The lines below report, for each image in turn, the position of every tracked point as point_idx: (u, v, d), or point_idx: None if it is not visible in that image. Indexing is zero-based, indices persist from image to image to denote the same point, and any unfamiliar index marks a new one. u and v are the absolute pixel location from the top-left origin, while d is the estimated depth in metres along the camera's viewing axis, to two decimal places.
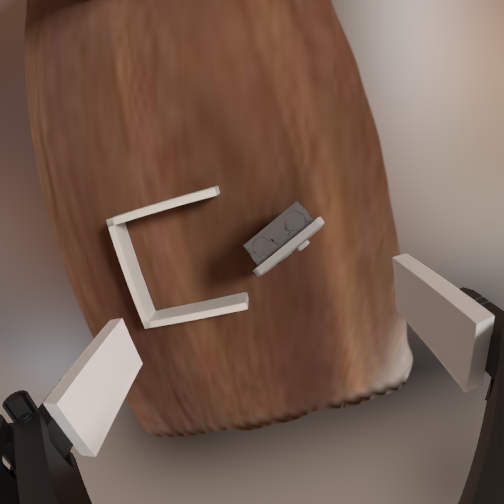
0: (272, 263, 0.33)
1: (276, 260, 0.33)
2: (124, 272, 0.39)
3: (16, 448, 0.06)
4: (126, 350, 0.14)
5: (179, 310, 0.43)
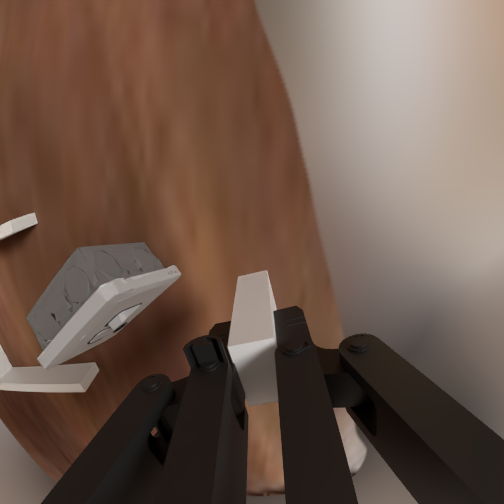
0: (52, 356, 0.15)
1: (56, 352, 0.15)
2: None
3: (184, 400, 0.08)
4: None
5: (26, 374, 0.25)
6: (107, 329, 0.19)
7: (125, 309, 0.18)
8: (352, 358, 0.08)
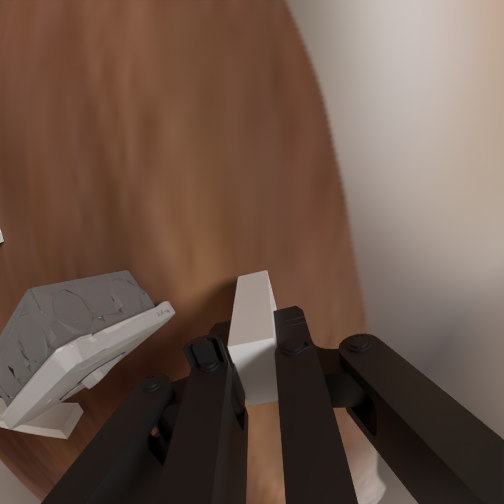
0: (15, 419, 0.10)
1: (18, 416, 0.10)
2: None
3: (184, 400, 0.08)
4: None
5: (5, 408, 0.20)
6: (82, 384, 0.14)
7: (101, 365, 0.13)
8: (352, 358, 0.08)
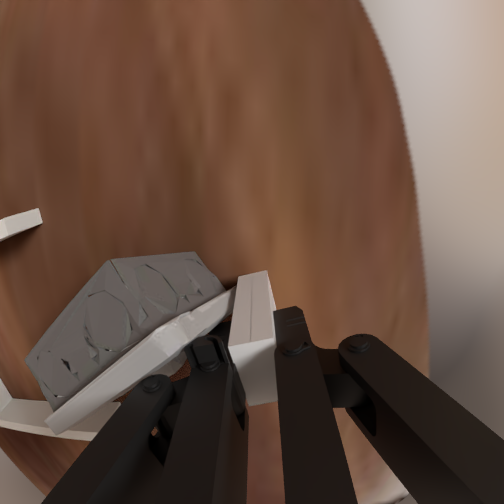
0: (68, 422, 0.09)
1: (74, 419, 0.09)
2: None
3: (184, 400, 0.08)
4: None
5: (30, 411, 0.19)
6: None
7: (179, 353, 0.12)
8: (352, 358, 0.08)
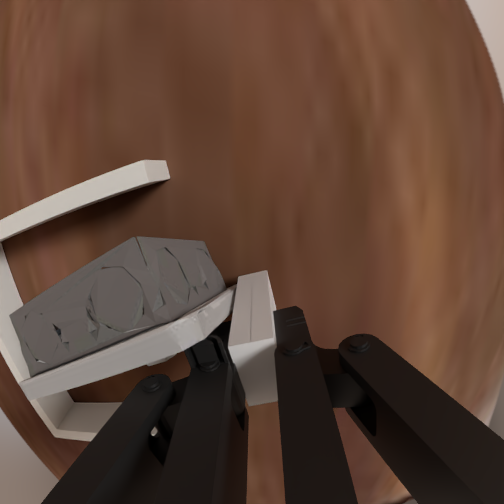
0: (47, 391, 0.09)
1: (55, 390, 0.09)
2: None
3: (184, 400, 0.08)
4: None
5: (108, 416, 0.19)
6: None
7: None
8: (352, 358, 0.08)
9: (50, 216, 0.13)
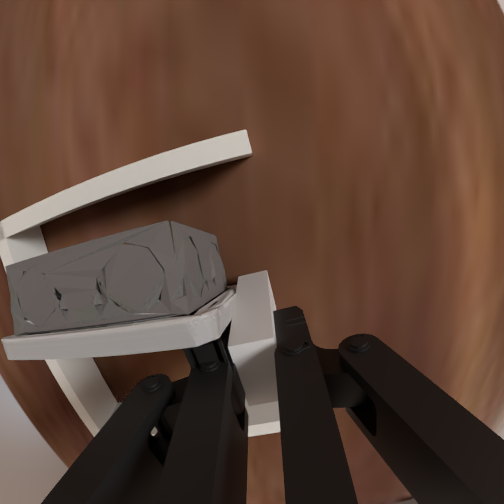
0: (33, 356, 0.09)
1: (42, 356, 0.09)
2: None
3: (184, 400, 0.08)
4: None
5: None
6: None
7: None
8: (352, 358, 0.08)
9: (124, 188, 0.13)
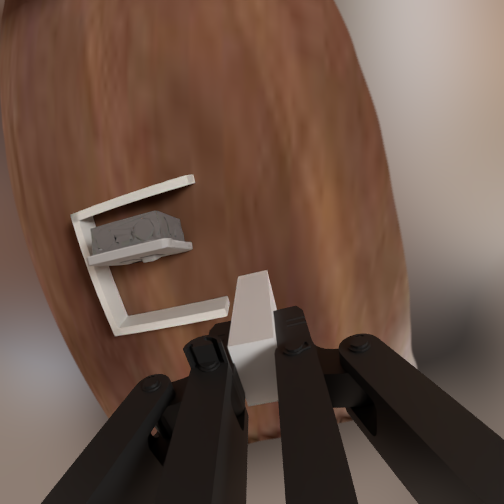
0: (102, 260, 0.28)
1: (107, 259, 0.28)
2: (90, 273, 0.34)
3: (184, 400, 0.08)
4: None
5: (152, 316, 0.37)
6: (137, 259, 0.32)
7: (157, 254, 0.31)
8: (352, 358, 0.08)
9: (139, 198, 0.32)
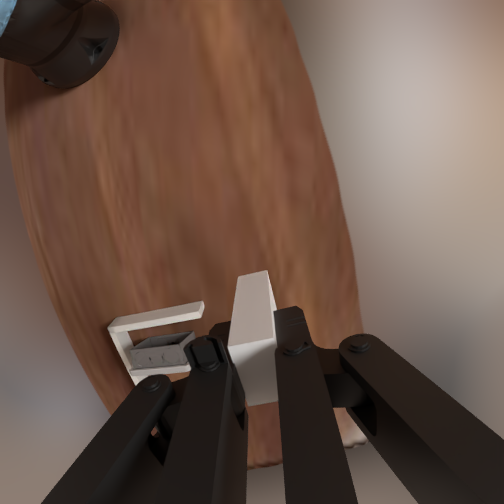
0: (142, 374, 0.38)
1: (146, 374, 0.38)
2: (126, 367, 0.45)
3: (184, 400, 0.08)
4: None
5: None
6: None
7: None
8: (352, 358, 0.08)
9: (163, 324, 0.42)
